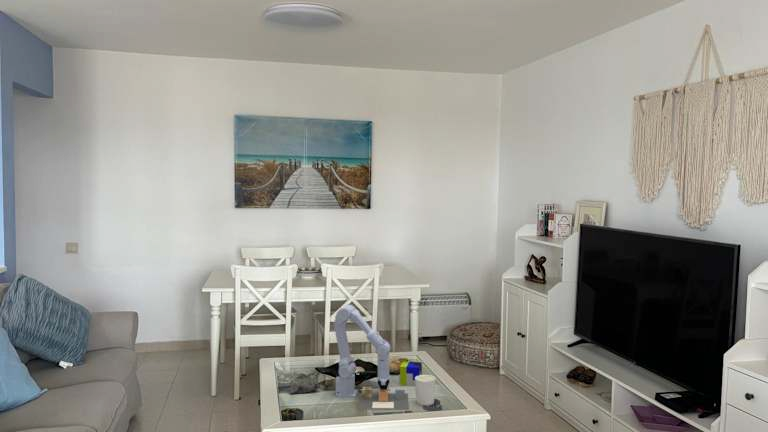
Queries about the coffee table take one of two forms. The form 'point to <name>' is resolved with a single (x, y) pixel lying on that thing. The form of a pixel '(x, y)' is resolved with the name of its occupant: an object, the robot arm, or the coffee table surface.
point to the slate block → (399, 392)
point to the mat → (383, 403)
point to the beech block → (367, 393)
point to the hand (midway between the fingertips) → (383, 395)
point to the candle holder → (425, 389)
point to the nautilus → (396, 364)
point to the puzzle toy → (409, 372)
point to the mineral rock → (302, 384)
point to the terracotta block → (383, 395)
